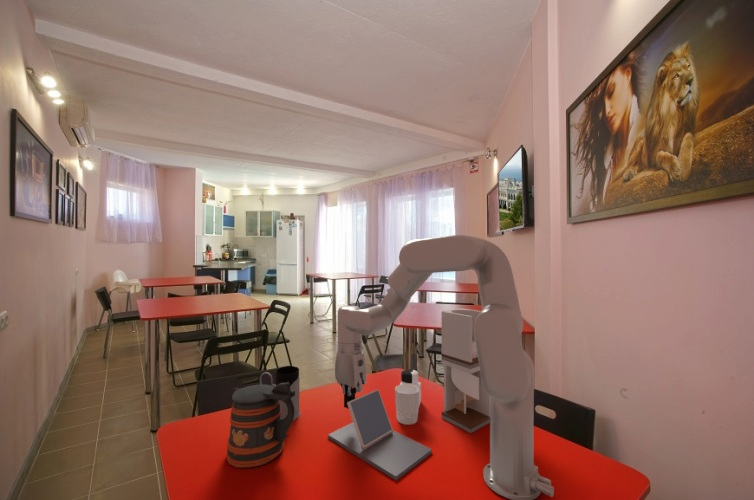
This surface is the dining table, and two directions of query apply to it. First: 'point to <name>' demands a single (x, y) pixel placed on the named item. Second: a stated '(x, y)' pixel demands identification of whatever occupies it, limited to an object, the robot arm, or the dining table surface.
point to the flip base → (383, 451)
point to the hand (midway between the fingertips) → (349, 406)
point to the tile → (370, 418)
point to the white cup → (407, 403)
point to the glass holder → (293, 378)
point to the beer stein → (258, 424)
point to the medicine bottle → (411, 379)
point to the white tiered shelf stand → (463, 372)
